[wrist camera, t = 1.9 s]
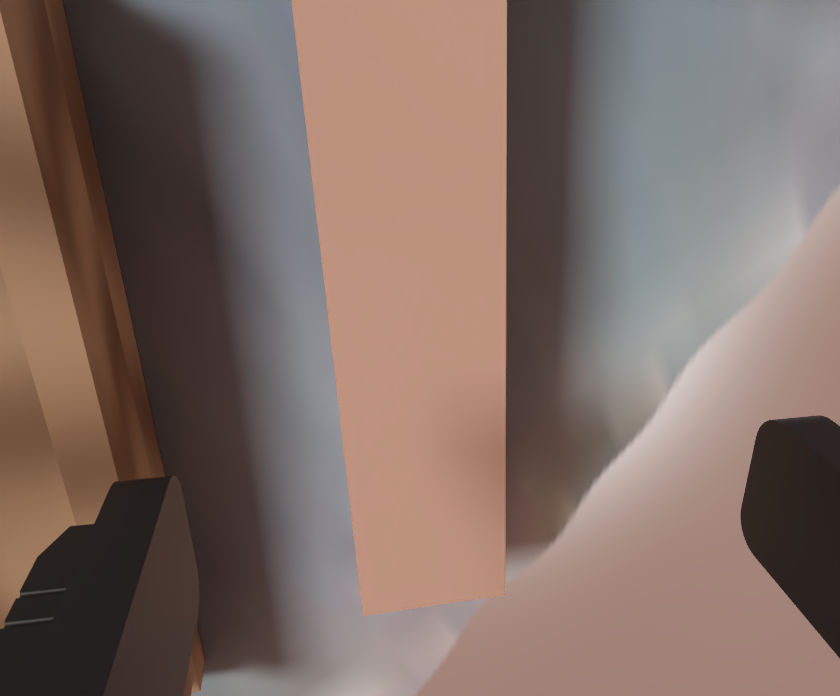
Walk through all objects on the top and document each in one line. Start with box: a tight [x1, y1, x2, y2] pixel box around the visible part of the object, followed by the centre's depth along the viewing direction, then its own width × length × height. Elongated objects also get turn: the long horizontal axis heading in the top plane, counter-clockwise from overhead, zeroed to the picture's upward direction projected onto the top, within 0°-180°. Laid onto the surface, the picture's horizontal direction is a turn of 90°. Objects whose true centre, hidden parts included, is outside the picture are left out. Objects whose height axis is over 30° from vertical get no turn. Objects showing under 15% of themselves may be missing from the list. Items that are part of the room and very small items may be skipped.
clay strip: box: [291, 0, 507, 616], centre depth 17 cm, size 18×4×4 cm, turn 3°
